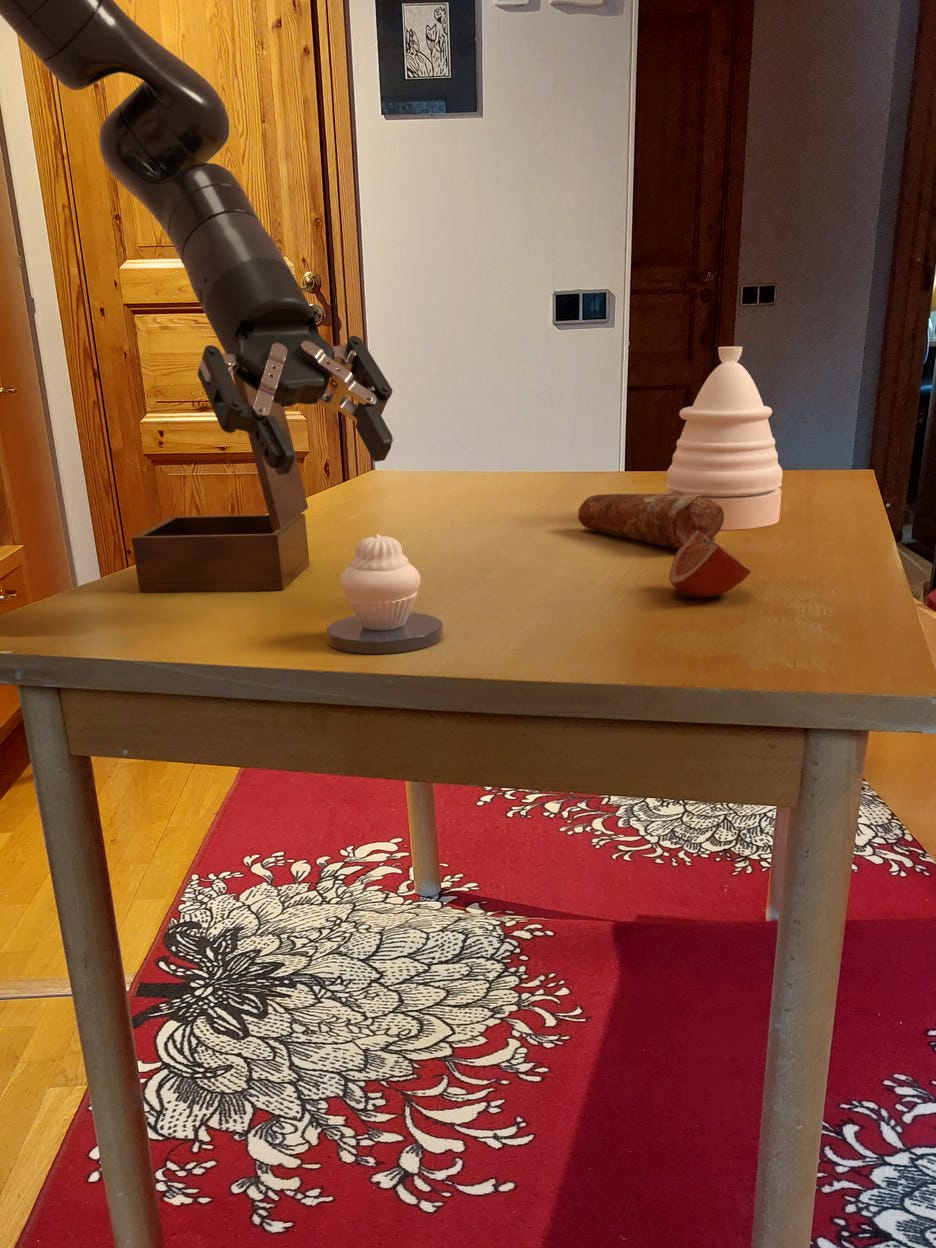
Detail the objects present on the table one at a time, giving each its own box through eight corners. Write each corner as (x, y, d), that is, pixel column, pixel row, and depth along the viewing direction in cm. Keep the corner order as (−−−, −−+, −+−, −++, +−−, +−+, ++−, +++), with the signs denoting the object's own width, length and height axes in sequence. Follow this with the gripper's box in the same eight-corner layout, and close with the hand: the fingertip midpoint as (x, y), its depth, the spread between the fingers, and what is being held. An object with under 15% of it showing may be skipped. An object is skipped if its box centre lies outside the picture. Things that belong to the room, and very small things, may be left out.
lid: (228, 359, 99) (237, 357, 99) (262, 353, 110) (270, 351, 110) (272, 530, 105) (281, 529, 105) (300, 509, 116) (308, 508, 116)
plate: (316, 655, 87) (315, 641, 87) (339, 624, 95) (338, 612, 95) (436, 653, 87) (435, 640, 86) (449, 623, 95) (448, 610, 94)
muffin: (439, 622, 91) (435, 530, 88) (386, 640, 87) (379, 544, 84) (381, 612, 95) (375, 523, 92) (327, 628, 90) (318, 536, 87)
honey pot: (665, 510, 140) (671, 347, 132) (775, 509, 138) (787, 343, 130) (663, 530, 129) (669, 352, 121) (783, 529, 127) (797, 348, 119)
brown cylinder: (679, 557, 115) (681, 499, 113) (568, 531, 130) (568, 479, 128) (728, 549, 118) (731, 492, 115) (614, 524, 133) (615, 473, 130)
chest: (139, 592, 109) (131, 537, 107) (178, 566, 119) (171, 516, 117) (283, 590, 108) (277, 535, 105) (309, 564, 118) (305, 513, 116)
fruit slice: (660, 586, 104) (662, 528, 102) (735, 583, 104) (738, 525, 102) (677, 608, 97) (680, 547, 94) (758, 605, 97) (763, 543, 95)
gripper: (173, 256, 85) (267, 437, 82) (340, 252, 92) (432, 417, 89) (154, 334, 91) (240, 505, 88) (312, 324, 98) (397, 481, 95)
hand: (337, 460), depth 89 cm, fingers open, 8 cm apart
